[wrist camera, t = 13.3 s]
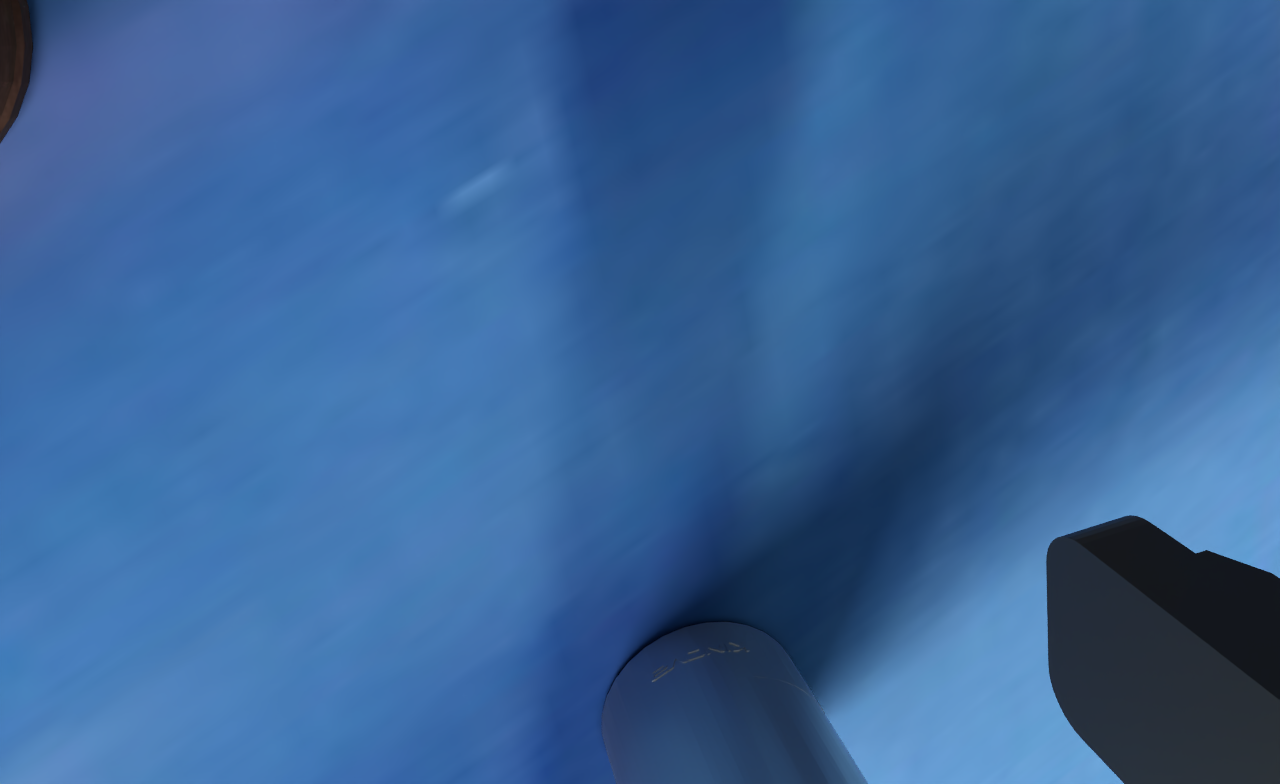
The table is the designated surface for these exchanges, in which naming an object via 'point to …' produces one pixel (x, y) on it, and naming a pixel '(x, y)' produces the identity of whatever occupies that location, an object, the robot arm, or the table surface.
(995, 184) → the table surface
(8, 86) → the stone ball on stand
